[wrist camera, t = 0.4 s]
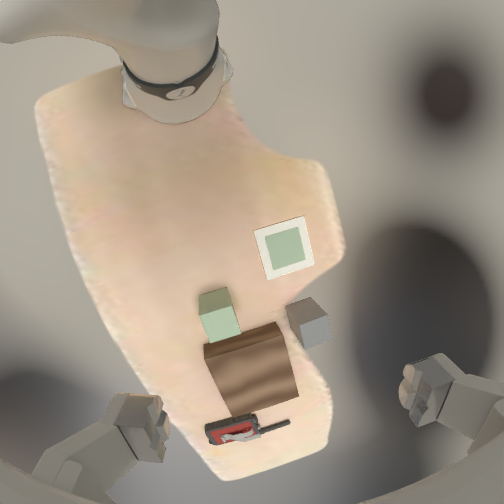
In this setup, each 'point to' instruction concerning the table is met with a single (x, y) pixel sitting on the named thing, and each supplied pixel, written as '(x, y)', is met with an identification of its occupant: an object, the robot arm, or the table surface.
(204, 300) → the sage block
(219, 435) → the walkie-talkie
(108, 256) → the table surface
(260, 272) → the table surface
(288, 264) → the swatch
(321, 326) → the grey block
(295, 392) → the walnut plinth
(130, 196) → the table surface
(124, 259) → the table surface
